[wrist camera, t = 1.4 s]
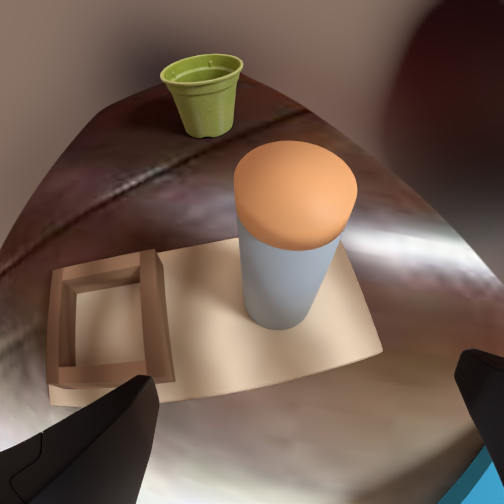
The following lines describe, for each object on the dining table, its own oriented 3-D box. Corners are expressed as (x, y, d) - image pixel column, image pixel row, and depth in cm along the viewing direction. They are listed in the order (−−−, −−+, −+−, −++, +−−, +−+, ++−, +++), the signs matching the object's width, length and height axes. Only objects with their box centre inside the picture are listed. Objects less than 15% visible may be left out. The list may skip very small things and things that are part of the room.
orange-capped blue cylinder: (314, 328, 20) (370, 227, 10) (244, 331, 20) (232, 229, 10) (307, 267, 23) (342, 142, 13) (243, 268, 23) (235, 141, 13)
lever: (471, 424, 19) (340, 542, 12) (525, 403, 14) (401, 561, 7) (487, 468, 16) (366, 587, 8) (539, 454, 11) (423, 607, 3)
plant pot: (158, 132, 35) (144, 75, 28) (210, 102, 39) (204, 49, 31) (206, 157, 32) (196, 90, 24) (260, 122, 35) (260, 62, 28)
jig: (329, 227, 26) (337, 202, 23) (378, 354, 20) (397, 341, 17) (59, 279, 24) (39, 260, 21) (57, 406, 18) (31, 400, 15)
